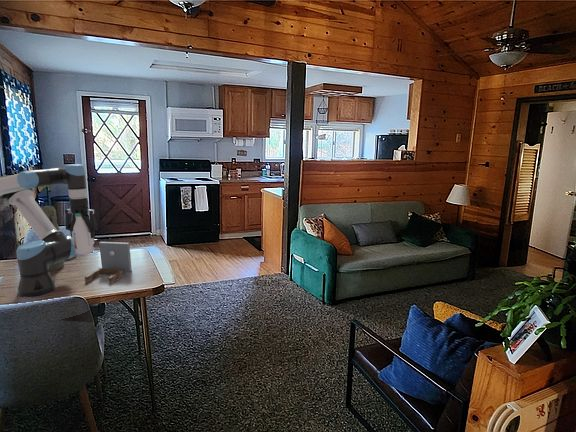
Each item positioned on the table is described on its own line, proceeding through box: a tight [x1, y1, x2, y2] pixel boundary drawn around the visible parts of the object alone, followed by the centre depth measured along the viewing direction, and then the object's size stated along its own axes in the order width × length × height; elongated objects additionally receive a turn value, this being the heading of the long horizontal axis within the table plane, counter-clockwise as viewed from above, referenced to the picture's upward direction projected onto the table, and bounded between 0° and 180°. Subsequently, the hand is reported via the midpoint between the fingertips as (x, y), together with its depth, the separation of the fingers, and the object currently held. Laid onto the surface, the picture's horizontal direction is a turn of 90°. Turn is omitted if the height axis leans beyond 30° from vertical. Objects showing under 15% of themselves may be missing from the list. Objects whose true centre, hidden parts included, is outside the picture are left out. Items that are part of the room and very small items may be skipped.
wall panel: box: [98, 241, 133, 273], centre depth 206 cm, size 4×16×16 cm, turn 84°
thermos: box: [40, 205, 65, 271], centre depth 210 cm, size 9×12×35 cm
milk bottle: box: [73, 213, 94, 256], centre depth 182 cm, size 8×8×20 cm
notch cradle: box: [84, 267, 125, 285], centre depth 198 cm, size 12×14×3 cm
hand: (83, 244), depth 183 cm, fingers closed on milk bottle, 8 cm apart
